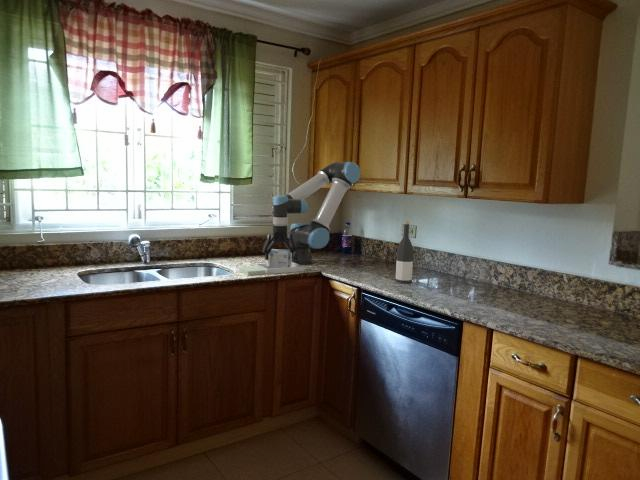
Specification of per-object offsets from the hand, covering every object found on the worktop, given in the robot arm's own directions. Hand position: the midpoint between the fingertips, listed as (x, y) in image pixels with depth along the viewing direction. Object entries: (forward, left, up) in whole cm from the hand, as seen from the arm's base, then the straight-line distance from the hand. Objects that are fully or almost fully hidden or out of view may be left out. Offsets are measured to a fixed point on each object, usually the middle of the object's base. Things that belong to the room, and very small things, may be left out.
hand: (279, 265), depth 262 cm
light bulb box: (0, 0, -3) cm, 3 cm away
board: (+16, +1, -2) cm, 17 cm away
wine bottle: (-43, +50, -3) cm, 66 cm away
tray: (0, 0, -2) cm, 2 cm away
